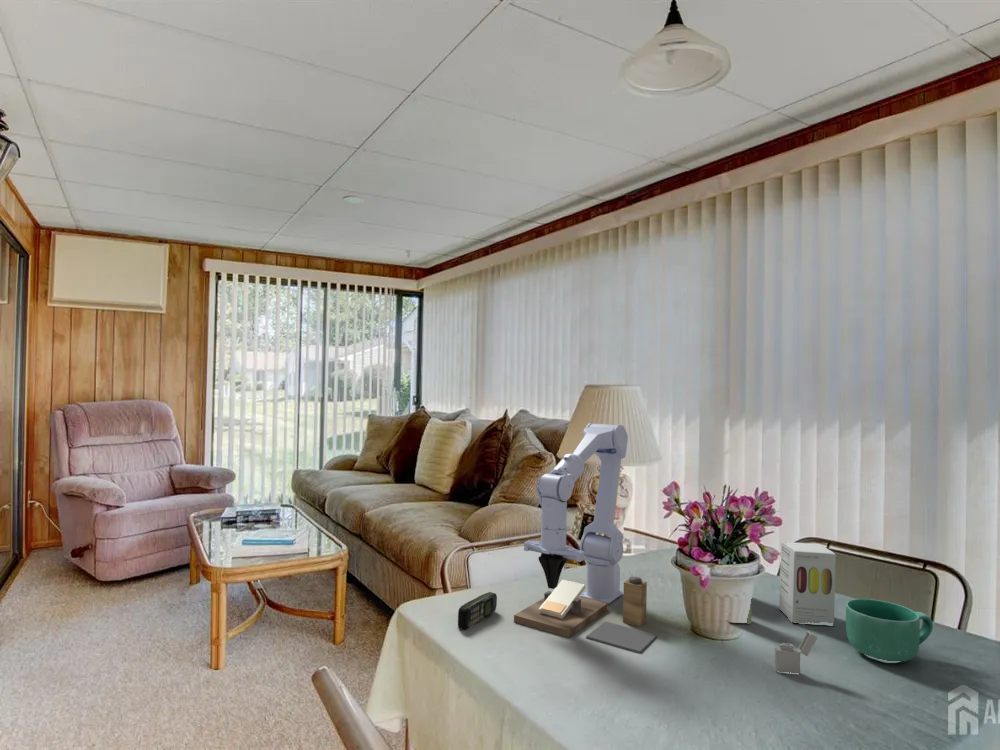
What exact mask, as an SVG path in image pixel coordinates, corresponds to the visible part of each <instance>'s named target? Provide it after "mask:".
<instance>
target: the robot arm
mask: <svg viewBox="0 0 1000 750" xmlns="http://www.w3.org/2000/svg"><path fill="white" fill-rule="evenodd" d="M628 439H629V436H628V432H627V430H626V428H625V426H624V425H623V424H607V423H594V422H589V423H588V424H587V425H586V426H585V428H583V434H582V439H581V441H580V442H579V444H578V445H577V447H575V450H574V451H573V452H572V453H567V454H564V456H563V457H562V458H561V459H560V461H559V462H558V463H557V464H556V465H555V466H554V468H553V469H552V470H551V471H550V472H549V473H545V474H543V475H541V476H540V478H539V479H538V482H537V486H536V487H535V488H536V494H537V496H538V500H539V501H538V503H539V505H540V507H541V517H540V518H541V521H540V523H541V524H540V529H541V530H540V541H534V540H526V541H524V542H523V543H524V544H523V550H524V551H526V552H529V551H531V552H535V553H539V554H540V556H538V562H539V564H540V565H541V568H542V569H543V573H544V576H545V580H546V584H547V588H548V589H552V590H554V589H555V588H556V587H557V586H558V584H559V580H560V578H561V574H562V571H563V569H564V567H565V564H566V562H567V561H568V560H574V561H576V562H579V563H581V562H583V561H586V584H585V589H586V590H585V591H583V592H582V593H581V595H580V597H584V598H588V599H592V600H596V601H601V602H605V603H608V605H609V604H611V603H612V602H614V601H615V600H616V599H617V598H619V597H620V596H622V595H624V591H621V590H620V588H621V586H620V585H621V567H620V565H619V562H620V561H621V559H622V558H623V554H624V545H623V537H624V536H623V535H624V534H623V533H622V531H621V530H620V529H618V527H617V526H616V525H615V515H616V507H617V498H618V490H619V482H620V474H621V468H622V466H621V465H622V459H624V458H626V455H627V449H628V442H629V441H628ZM593 455H595V456H597V457H598V458H599V459H600V469H599V475H598V476H599V477H598V483H597V484H598V485H597V492H596V499H595V501H596V502H595V509H594V515H593V516H594V517H593V521H592V522H591V523H589V524H588V525H586V526H585V527H584V529H583V534H582V536H581V539H580V542H579V549H576V548H574V547H572V546H568V545H567V519H568V518H567V515H568V514H567V512H568V511H567V510H568V500H569V499H570V498H571V497H572V494H573V489H574V488H575V483H576V481H577V480H578V479H579V478H580V476H581V475H582V474H583V473H584V471H585V463H586V462H587V461H588V460H589V459H590V458H591V457H592V456H593Z"/></svg>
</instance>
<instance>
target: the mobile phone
mask: <svg viewBox="0 0 1000 750" xmlns="http://www.w3.org/2000/svg"><path fill="white" fill-rule="evenodd" d="M497 602H498V596H497V594H496V593H495V592H492V591H488V592H485V593H484V594H481V595H479V596H477V597H475V598H473V599H471V600H469V601H467V602H466V603H464V604H462V605H461V606H460V607H458V608H459V609H458V611H457V627H458V629H460V630H462V631H466V630H468V629H470V628H471V627H473V626H475V625H476V623H477V624H479V623H480V622H482V621H484V620H486V619H488V618H489V617H491V616H492V615H493V613H495V611H496V609H497V604H498V603H497Z"/></svg>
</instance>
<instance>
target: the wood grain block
mask: <svg viewBox="0 0 1000 750" xmlns="http://www.w3.org/2000/svg"><path fill="white" fill-rule="evenodd" d="M647 587H648V582H647V581H646V580H643V579H642V578H641V577H638V576H630V577H628V579H627V580H625V581H624V582H623V598H622V599H623V600H622V601H623V604H622V612H623V613H622V623H625V624H629V625H633V626H635V627H641V626H642V625H643V624H644V623H646V622H647V601H648V600H647V593H648V592H647V591H648V588H647Z"/></svg>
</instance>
